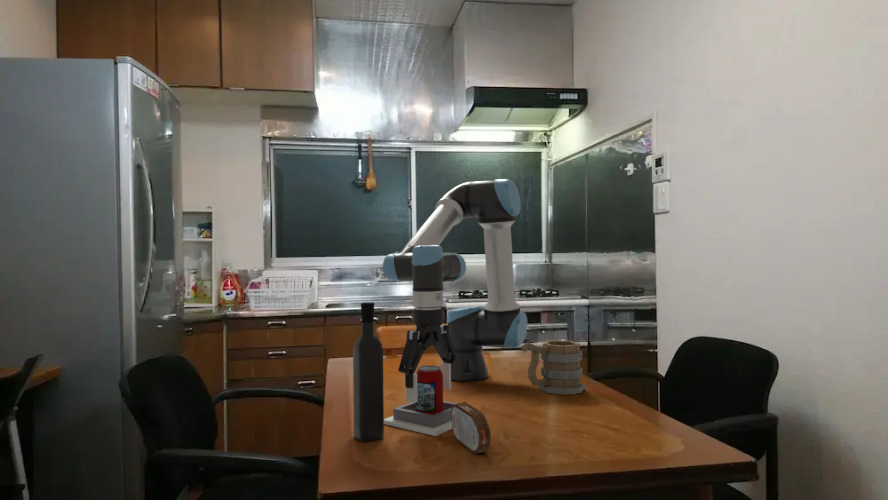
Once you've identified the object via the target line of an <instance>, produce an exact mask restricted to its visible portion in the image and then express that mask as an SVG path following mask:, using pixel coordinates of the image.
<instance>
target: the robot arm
mask: <svg viewBox="0 0 888 500" xmlns="http://www.w3.org/2000/svg"><path fill="white" fill-rule="evenodd" d="M521 207H522V203H521V195H520V192H519V189H518V187H517V186H516V184H515V183H514V181H512V180H511V179H507V178H505V179H503V178H499V179H498V178H496V179H489V180H487V179H486V180H480V181H479V180H478V181H467V182H463V183H461V184H458V185H457V186H455V187H453V188H452V189H451V190H449V191H448V192H446V193H445V194H444V195H443V196H442V197H441V198H440V199H439V200H438V201H437V203H436V205H435V207H434V211H433V212H432V213H431V215H430V216H429V217H428V218H427V220H426V221H425V222H424V223H423V224H422V225H421V226H420V227H419V229H418V230H417V231H416V232H415V234H414V235H413V236H412V237H411V239H409V241H408V242H407V243H406V244H405V246H404V247H403V249H401V250H400V251H399V252H398V253H397V252H394V253H390V254H389V253H388V254H387V255H386V256H385V257H384V259H383V262H382V271H383V275H384V277H385V278H386V279H387V280H389V281H394V282H412V307H413V308H414V309H413V310H412V321H413V324H414V325H415V326H416V328H415V330H407V331H406V342H405V345H404V349H403V352H402V355H401V358H400V362H399V366H398V372H399V373H401V374H404V378H405V379H404V380H405V381H404V383H405V384H404V385H405V390H406V391H405V392H406V402H410V403H411V402H418V401H417V374H416V370H417V369H418V367H419V364H420V361H421V359H422V358H423V354H424V352H425V351H426V350H427V349H428V348H430V347H433V349H435V351H436V353H437V354H438V356H439V357H440V359H441V361H442V362H440V363H439V365H440V366H439V367H440V370H441V372H442V374H443V390H444V389H445V390H449V391H450V390H451V389H452V381H458V382H459V381H462V382H463V381H464V382H465V381H466V382H467V381H469V382H471V381H480V380H484V379H486V378H488V377H489V368H488V366H487V363H486V360H485V358H484V357H485V356H484V353H483V347H491V348H502V349H503V348H504V349H517V348H519V347H521V346H522V345H523V343H524V341H525V339H526V336H527V335H526V334H527V331H528V330H527V329H528V317H527V313H525V312H524V311H521V306H520V304H519V303H518V302H517V301H516V296H515V295H516V294H515V281H514V279H515V278H514V264H513V261H514V260H513V245H512V244H513V243H512V229H511V228H512V226H513V224H514V223H516V216H519V214H520V213H521ZM469 218H470V219H473V218H475V219H476V218H478V219H477V221H478V225H479V226H481V227H482V228H483V237H484V238H483V239H484V241H483V242H484V254H485V257H484V258H485V271H486V285H487V286H486V287H487V303H486V304H485V305H484V307H482V306H481V305H475V306H466V307H460V308H452V309H450V310H449V311H448V313H447V322H446V324H444V321H445V320H444V318H445V317H444V316H445V315H444V313H445V311H444V309H443V308H442V307H444V283H445V282H455V281H457V280H460V279H462V278H463V277H464V276H465V274H466V270H467V263H466V260H465V258H464V257H463V256H462V255H460V254H459V253H455V252H443V247H442V246H441V245H440V244H441V243H442V242H443V240H444V239H445V238H446V237H447V235H448V234H449V232H450V231H451V230H452V229H453V227H454V226H457V225H458V224H460V223H461V222H462V221H463V220H465V219H469Z"/></svg>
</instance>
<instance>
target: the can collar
mask: <svg viewBox="0 0 888 500" xmlns="http://www.w3.org/2000/svg"><path fill="white" fill-rule="evenodd" d="M455 404H458V403H457V402H452V401H445V400H443V411H442V412H439V413H437V414H434V415H431V414H426V413H421V412H416V402H411V401H410V402H408V403H406V404H402V405H399V406H397V407H394V408H393V410H392V411H393V412H392V413H393V415H391V416H389V417H385V418H384V425H388V426H391V427H396V428H399V429H403V430H408V431H413V432H417V433H421V434H425V435H430V436H433V437H437V436H439V435H442V434H444V433H446V432H449V431H450V430H453V429H452V419H451V409H452V406H453V405H455Z"/></svg>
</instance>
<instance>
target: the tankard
mask: <svg viewBox="0 0 888 500" xmlns="http://www.w3.org/2000/svg"><path fill="white" fill-rule="evenodd" d="M520 349H521V350H522V352H524V353H525V352H526V351H528V350H529V351H531V356H530V362H529V366H528V370H527V374H528V380H529V381H530V384H531V385H532V386H534V387H538V389H539V390H541V391H542V390H543V391H542V392H544V391H545V392H544V393H546V392H547V393H546V394H549V393H553V394H552V395H559V394H565V395H564V396H568V395H567V394H572V395H577V394H576V393H581V394H582V393H583V392H584V391H585V390H586V384H585V383H583V382H581V377H582V376H583V367H581V361H582V360H583V351H582V350H581V344H580V342H577V341H573V340H547V341H545V342H543V343H542V346H538V345H535V344H533V343H532V342H530V341H527V342H525V343H524V344H521V345H520ZM540 359H541V360H542V361H543V362H542V365H543V366H541V369H540V372H541V373H540V375H541V376H543V378H537V372H536V371H537V368H538V365H539V362H540ZM584 389H585V390H584ZM583 390H584V391H583ZM582 391H583V392H582Z"/></svg>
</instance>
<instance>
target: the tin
mask: <svg viewBox="0 0 888 500" xmlns="http://www.w3.org/2000/svg"><path fill="white" fill-rule="evenodd" d="M451 419H452V429H451V430H452V432H453V435H454V437H455V439H456V440H457V442H459V443H460V444H462V446H464V447H465V448H466V449H468V451H470V452H471V453H472V454H476V455H477V454H481V453H488V452H489V450H490V449H491V444H492V438H491V437H492V434H491V429H490V426H489V423H488V420H487V418H486V416H485V415H484V413H483V412H482V411H481V410H479V409H478V408H476V407H474V406H473V405H471V404H469V403H468V402H467V401H463V402H459V403H458V404H455V405H453V406H452V409H451Z"/></svg>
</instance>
